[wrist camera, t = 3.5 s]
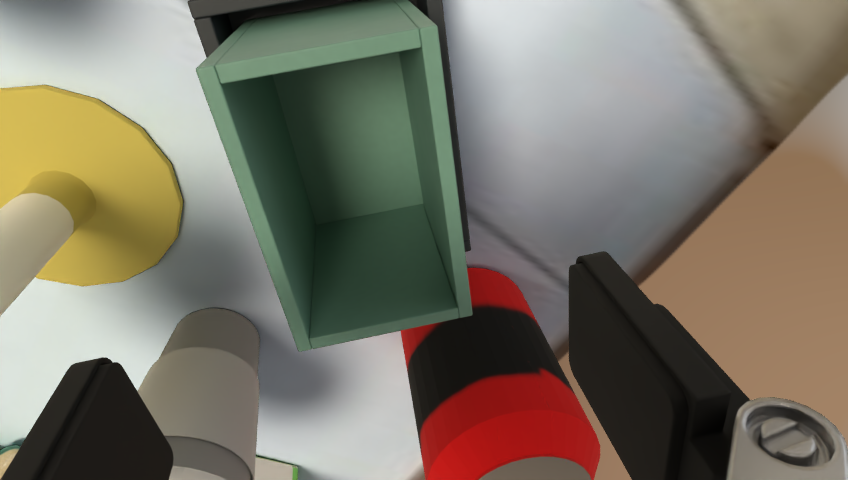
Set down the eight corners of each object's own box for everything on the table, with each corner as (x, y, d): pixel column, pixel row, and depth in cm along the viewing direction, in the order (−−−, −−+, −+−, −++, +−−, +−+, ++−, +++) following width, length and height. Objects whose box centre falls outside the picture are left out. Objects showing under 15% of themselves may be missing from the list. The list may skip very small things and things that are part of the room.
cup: (297, 311, 29) (277, 514, 19) (263, 393, 32) (230, 610, 22) (162, 277, 27) (57, 488, 17) (138, 369, 30) (35, 599, 19)
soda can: (376, 302, 30) (397, 496, 20) (494, 241, 29) (582, 410, 19) (435, 381, 34) (479, 577, 23) (541, 329, 33) (636, 509, 22)
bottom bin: (207, -9, 21) (186, 1, 18) (423, -46, 21) (437, -43, 18) (292, 250, 27) (287, 288, 24) (456, 217, 28) (471, 251, 25)
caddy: (245, 20, 21) (194, 68, 13) (400, -8, 21) (437, 25, 14) (308, 230, 26) (298, 353, 19) (433, 205, 27) (473, 315, 19)
